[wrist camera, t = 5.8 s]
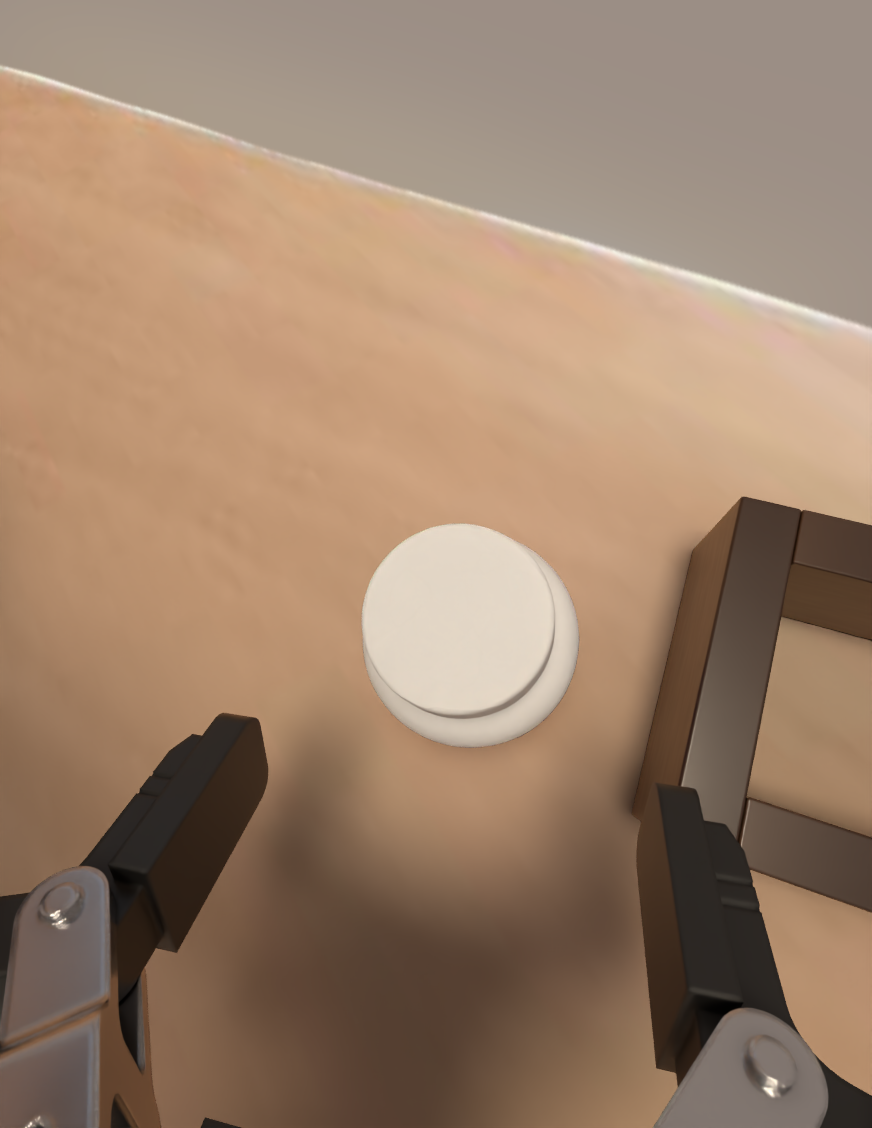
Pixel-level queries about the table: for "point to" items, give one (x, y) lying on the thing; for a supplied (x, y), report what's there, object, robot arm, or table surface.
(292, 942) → the table surface
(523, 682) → the pill bottle
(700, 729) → the rack
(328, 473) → the table surface
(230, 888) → the table surface
